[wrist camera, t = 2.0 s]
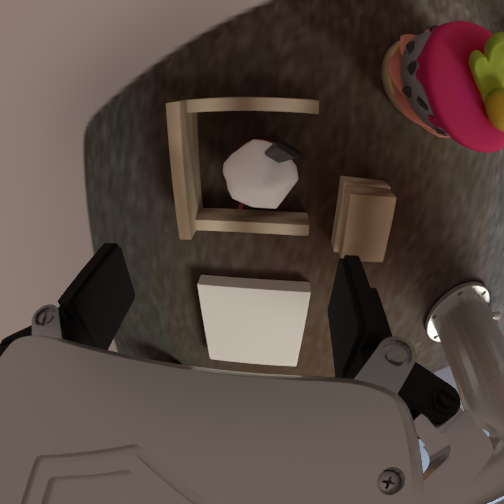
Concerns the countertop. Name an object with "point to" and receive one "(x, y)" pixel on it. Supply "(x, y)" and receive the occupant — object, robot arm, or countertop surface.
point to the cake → (450, 83)
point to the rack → (188, 169)
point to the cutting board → (253, 318)
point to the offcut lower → (339, 207)
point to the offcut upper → (366, 222)
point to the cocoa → (261, 172)
